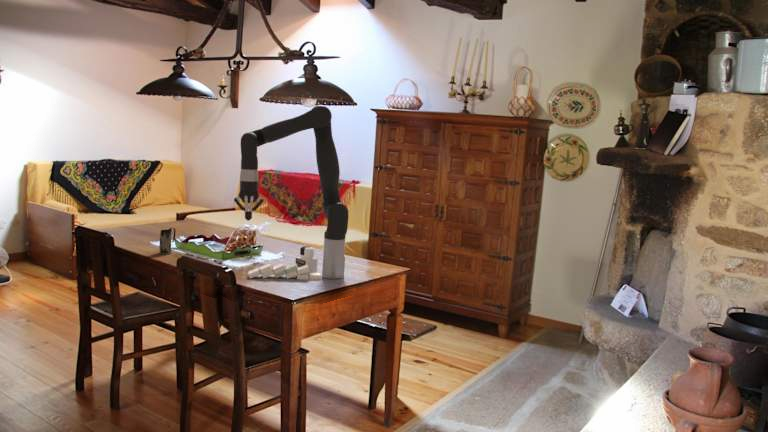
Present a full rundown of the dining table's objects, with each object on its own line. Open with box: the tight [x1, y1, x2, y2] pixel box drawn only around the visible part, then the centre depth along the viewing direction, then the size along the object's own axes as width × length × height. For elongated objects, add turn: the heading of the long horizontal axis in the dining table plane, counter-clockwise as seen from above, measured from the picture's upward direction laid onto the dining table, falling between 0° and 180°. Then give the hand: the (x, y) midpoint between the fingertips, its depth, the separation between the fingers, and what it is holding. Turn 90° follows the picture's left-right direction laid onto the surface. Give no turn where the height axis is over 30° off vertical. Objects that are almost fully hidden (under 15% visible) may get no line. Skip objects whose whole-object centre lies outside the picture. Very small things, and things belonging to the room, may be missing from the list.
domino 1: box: [247, 263, 273, 279], centre depth 273 cm, size 2×5×10 cm
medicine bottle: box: [295, 246, 319, 273], centre depth 286 cm, size 7×7×12 cm
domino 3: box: [273, 262, 298, 279], centre depth 276 cm, size 2×5×10 cm
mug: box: [159, 227, 176, 255], centre depth 309 cm, size 8×6×12 cm
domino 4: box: [285, 264, 309, 280], centre depth 277 cm, size 2×5×10 cm
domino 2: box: [261, 262, 286, 279], centre depth 275 cm, size 2×5×10 cm
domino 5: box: [296, 272, 322, 281], centre depth 278 cm, size 2×5×10 cm
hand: (248, 220), depth 274 cm, fingers closed
